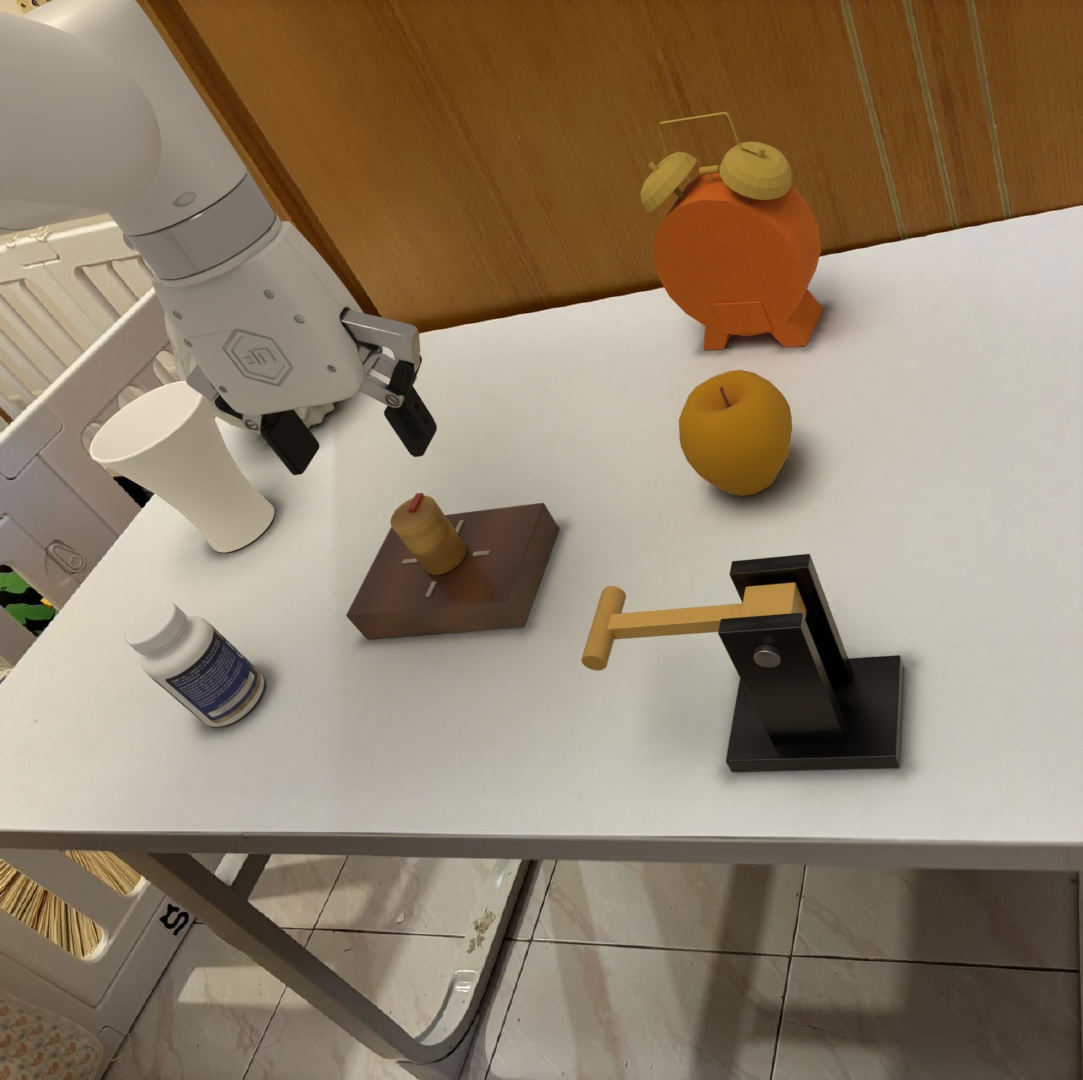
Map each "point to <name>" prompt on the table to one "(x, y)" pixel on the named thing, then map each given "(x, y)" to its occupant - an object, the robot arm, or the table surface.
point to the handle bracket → (806, 683)
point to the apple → (736, 431)
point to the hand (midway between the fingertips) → (365, 452)
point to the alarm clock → (736, 244)
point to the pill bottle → (195, 664)
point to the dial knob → (428, 535)
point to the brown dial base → (459, 578)
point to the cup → (184, 464)
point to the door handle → (678, 618)
